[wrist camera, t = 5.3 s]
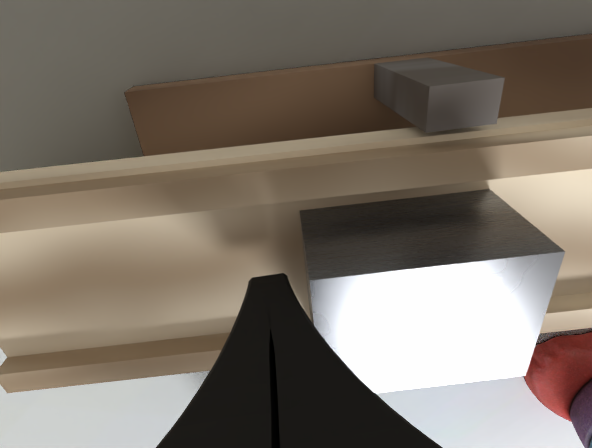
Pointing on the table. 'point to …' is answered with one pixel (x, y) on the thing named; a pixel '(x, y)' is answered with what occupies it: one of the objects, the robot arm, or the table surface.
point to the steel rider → (429, 287)
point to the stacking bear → (565, 380)
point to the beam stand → (365, 96)
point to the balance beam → (245, 236)
